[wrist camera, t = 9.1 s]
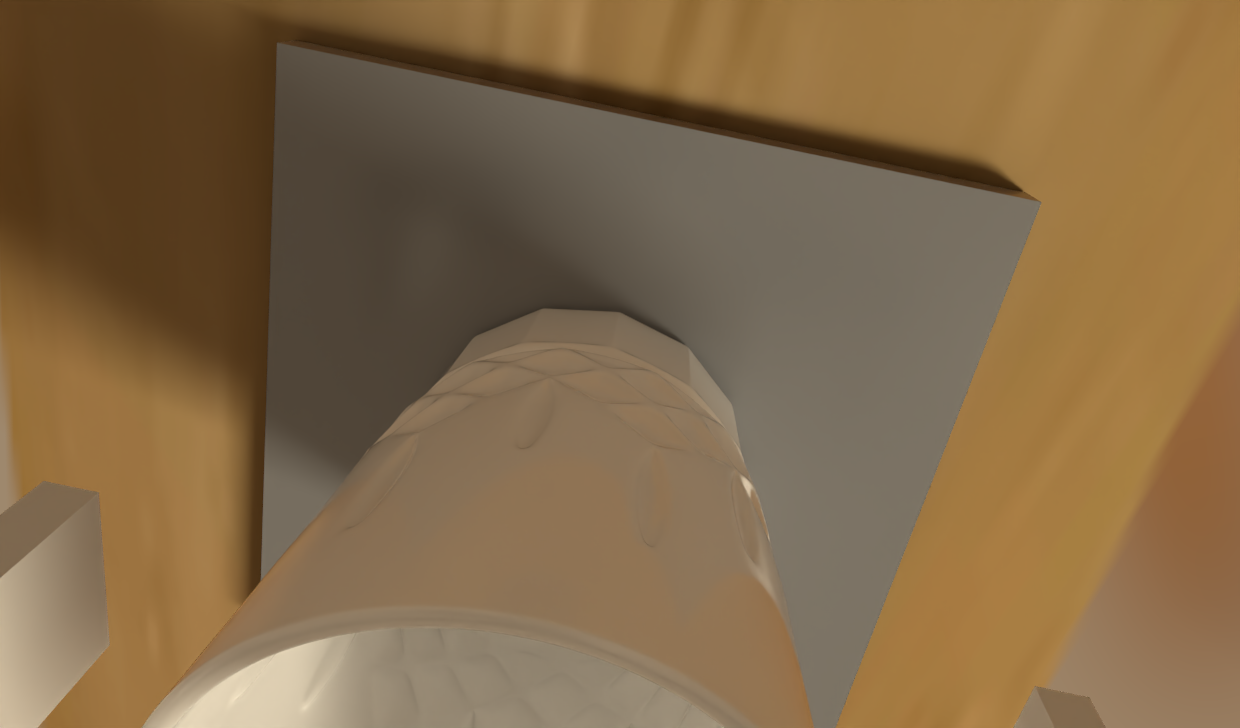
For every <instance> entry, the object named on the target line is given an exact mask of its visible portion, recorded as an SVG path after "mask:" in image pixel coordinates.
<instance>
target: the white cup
mask: <svg viewBox="0 0 1240 728" xmlns="http://www.w3.org/2000/svg"><path fill="white" fill-rule="evenodd" d="M142 728H814V725H813V721H812V716H811V712H810V707H809V703H808V698H807V694H806V689H805V685H804V680H803V675H802V671H801V666H800V662H799V657H798V653H797V648H796V644H795V639H794V634H793V630H792V625H791V620H790V615H789V610H788V605H787V601H786V597H785V593H784V589H783V586H782V582H781V579H780V575H779V572H778V569H777V566H776V562H775V559H774V554H773V550H772V546H771V541H770V537H769V534H768V530H767V526H766V522H765V519H764V515H763V512H762V509H761V504H760V499H759V495H758V493H757V491H756V489H755V486H754V484H753V482H752V480H751V477H750V475H749V473H748V471H747V468H746V466H745V463H744V460H743V456H742V453H741V448H740V443H739V437H738V432H737V426H736V421H735V415H734V410H733V406H732V404H731V402H730V401H729V399H728V398H727V397H726V396H725V394H724V393H723V392H722V390H721V389H720V388H719V386H718V385H717V384H716V383H715V381H714V380H713V379H712V377H711V376H710V375H709V373H708V372H707V371H706V370H705V368H704V367H703V366H702V364H701V363H700V362H699V360H698V359H697V358H696V357H695V355H694V354H693V353H692V351H691V350H690V349H689V348H688V347H687V346H686V345H684V344H682V343H680V342H678V341H676V340H674V339H672V338H670V337H668V336H666V335H664V334H662V333H660V332H658V331H656V330H654V329H652V328H650V327H648V326H646V325H644V324H642V323H640V322H638V321H637V320H635V319H633V318H631V317H629V316H627V315H625V314H623V313H621V312H612V311H591V310H571V309H550V308H542V309H539V310H537V311H535V312H532V313H530V314H527V315H525V316H522V317H520V318H518V319H515V320H513V321H510V322H508V323H505V324H503V325H501V326H498V327H496V328H493V329H491V330H488V331H486V332H484V333H481V334H479V335H476V336H475V337H474V338H473V339H472V340H471V341H470V342H469V343H468V345H467V346H466V347H465V348H464V349H463V351H462V352H461V353H460V354H459V355H458V357H457V358H456V359H455V360H454V361H453V362H452V364H451V365H450V366H449V367H448V368H447V370H446V371H445V372H444V373H443V374H442V376H441V377H440V378H439V379H438V380H437V382H436V383H435V384H434V385H433V386H432V388H431V389H430V390H429V391H428V392H427V393H426V394H425V395H423V396H422V397H421V398H419V399H418V400H416V401H415V402H413V403H412V404H410V405H409V406H408V407H407V408H405V410H404V411H403V412H402V413H401V414H400V415H399V417H398V418H397V419H396V420H395V422H394V423H393V424H392V425H391V427H390V428H389V429H388V430H387V431H386V432H385V433H384V434H383V435H382V436H381V437H380V438H379V439H378V440H377V441H376V442H375V443H374V444H373V445H372V446H371V447H370V448H369V449H368V450H367V452H366V453H365V454H364V456H363V457H362V458H361V460H360V461H359V462H358V463H357V465H356V466H355V467H354V468H353V469H352V471H351V472H350V473H349V474H348V476H347V477H346V478H345V480H344V481H343V482H342V483H341V484H340V486H339V487H338V488H337V489H336V491H335V492H334V493H333V494H332V496H331V497H330V498H329V499H328V500H327V502H326V503H325V504H324V505H323V507H322V508H321V509H320V510H319V511H318V513H317V514H316V515H315V516H314V517H313V518H312V520H311V521H310V522H309V523H308V524H307V525H306V527H305V528H304V529H303V530H302V531H301V532H300V533H299V535H298V536H297V537H296V538H295V540H294V541H293V542H292V543H291V544H290V546H289V547H288V548H287V549H286V551H285V552H284V553H283V554H282V556H281V557H280V558H279V559H278V560H277V562H276V563H275V564H274V565H273V567H272V568H271V569H270V570H269V571H268V573H267V574H266V575H265V576H264V578H263V579H262V580H261V581H260V583H259V584H258V585H257V586H256V587H255V589H254V590H253V591H252V592H251V593H250V595H249V596H248V597H247V598H246V600H245V601H244V602H243V603H242V604H241V606H240V607H239V608H238V609H237V611H236V612H235V613H234V614H233V615H232V617H231V618H230V619H229V620H228V621H227V623H226V624H225V625H224V626H223V627H222V629H221V630H220V631H219V632H218V634H217V635H216V636H215V637H214V638H213V640H212V641H211V642H210V643H209V644H208V646H207V647H206V648H205V649H204V650H203V652H202V653H201V654H200V655H199V656H198V658H197V659H196V660H195V661H194V663H193V664H192V665H191V666H190V667H189V669H188V670H187V671H186V672H185V673H184V675H183V676H182V677H181V678H180V679H179V681H178V682H177V683H176V684H175V685H174V687H173V688H172V689H171V690H170V691H169V693H168V694H167V695H166V696H165V697H164V699H163V700H162V701H161V702H160V703H159V705H158V706H157V707H156V708H155V710H154V711H153V712H152V714H151V715H150V716H149V718H148V719H147V721H146V722H145V724H144V725H143V727H142Z"/></svg>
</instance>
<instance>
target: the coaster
mask: <svg viewBox="0 0 1240 728" xmlns="http://www.w3.org/2000/svg"><path fill="white" fill-rule="evenodd" d="M1040 205H1041V202H1040V201H1039V200H1037V199H1036V198H1034V197H1032V196H1031V195H1029V194H1027V193H1026V192H1021V191H1016V190H1011V189H1006V188H1002V187H997V186H992V185H987V184H982V183H978V182H973V181H968V180H963V179H958V178H954V177H949V176H944V175H939V174H934V173H930V172H925V171H920V170H915V169H911V168H906V167H901V166H896V165H891V164H887V163H882V162H877V161H872V160H867V159H863V158H858V157H853V156H848V155H843V154H839V153H834V152H829V151H824V150H820V149H815V148H810V147H805V146H800V145H796V144H791V143H786V142H781V141H776V140H772V139H767V138H762V137H757V136H752V135H748V134H743V133H738V132H733V131H729V130H724V129H719V128H714V127H709V126H705V125H700V124H695V123H690V122H685V121H681V120H676V119H671V118H666V117H661V116H657V115H652V114H647V113H642V112H637V111H633V110H628V109H623V108H618V107H614V106H609V105H604V104H599V103H594V102H590V101H585V100H580V99H575V98H570V97H566V96H561V95H556V94H551V93H546V92H542V91H537V90H532V89H527V88H523V87H518V86H513V85H508V84H503V83H499V82H494V81H489V80H484V79H479V78H475V77H470V76H465V75H460V74H455V73H451V72H446V71H441V70H436V69H432V68H427V67H422V66H417V65H412V64H408V63H403V62H398V61H393V60H388V59H384V58H379V57H374V56H369V55H364V54H360V53H355V52H350V51H345V50H340V49H336V48H331V47H326V46H321V45H317V44H312V43H307V42H302V41H297V40H293V41H285V42H278V43H277V59H276V92H275V126H274V159H273V192H272V225H271V258H270V292H269V325H268V358H267V391H266V424H265V458H264V491H263V524H262V557H261V580H262V579H263V578H264V576H265V575H266V574H267V573H268V571H269V570H270V569H271V568H272V567H273V565H274V564H275V563H276V562H277V560H278V559H279V558H280V557H281V556H282V554H283V553H284V552H285V551H286V549H287V548H288V547H289V546H290V544H291V543H292V542H293V541H294V540H295V538H296V537H297V536H298V535H299V533H300V532H301V531H302V530H303V529H304V528H305V527H306V525H307V524H308V523H309V522H310V521H311V520H312V518H313V517H314V516H315V515H316V514H317V513H318V511H319V510H320V509H321V508H322V507H323V505H324V504H325V503H326V502H327V500H328V499H329V498H330V497H331V496H332V494H333V493H334V492H335V491H336V489H337V488H338V487H339V486H340V484H341V483H342V482H343V481H344V480H345V478H346V477H347V476H348V474H349V473H350V472H351V471H352V469H353V468H354V467H355V466H356V465H357V463H358V462H359V461H360V460H361V458H362V457H363V456H364V454H365V453H366V452H367V450H368V449H369V448H370V447H371V446H372V445H373V444H374V443H375V442H376V441H377V440H378V439H379V438H380V437H381V436H382V435H383V434H384V433H385V432H386V431H387V430H388V429H389V428H390V427H391V425H392V424H393V423H394V422H395V420H396V419H397V418H398V417H399V415H400V414H401V413H402V412H403V411H404V410H405V408H407V407H408V406H409V405H410V404H412V403H413V402H415V401H416V400H418V399H419V398H421V397H422V396H423V395H425V394H426V393H427V392H428V391H429V390H430V389H431V388H432V386H433V385H434V384H435V383H436V382H437V380H438V379H439V378H440V377H441V376H442V374H443V373H444V372H445V371H446V370H447V368H448V367H449V366H450V365H451V364H452V362H453V361H454V360H455V359H456V358H457V357H458V355H459V354H460V353H461V352H462V351H463V349H464V348H465V347H466V346H467V345H468V343H469V342H470V341H471V340H472V339H473V338H474V337H475V336H476V335H479V334H481V333H484V332H486V331H488V330H491V329H493V328H496V327H498V326H501V325H503V324H505V323H508V322H510V321H513V320H515V319H518V318H520V317H522V316H525V315H527V314H530V313H532V312H535V311H537V310H539V309H542V308H550V309H571V310H591V311H612V312H621V313H623V314H625V315H627V316H629V317H631V318H633V319H635V320H637V321H638V322H640V323H642V324H644V325H646V326H648V327H650V328H652V329H654V330H656V331H658V332H660V333H662V334H664V335H666V336H668V337H670V338H672V339H674V340H676V341H678V342H680V343H682V344H684V345H686V346H687V347H688V348H689V349H690V350H691V351H692V353H693V354H694V355H695V357H696V358H697V359H698V360H699V362H700V363H701V364H702V366H703V367H704V368H705V370H706V371H707V372H708V373H709V375H710V376H711V377H712V379H713V380H714V381H715V383H716V384H717V385H718V386H719V388H720V389H721V390H722V392H723V393H724V394H725V396H726V397H727V398H728V399H729V401H730V402H731V404H732V406H733V410H734V415H735V421H736V426H737V432H738V437H739V443H740V448H741V453H742V456H743V460H744V463H745V466H746V468H747V471H748V473H749V475H750V477H751V480H752V482H753V484H754V486H755V489H756V491H757V493H758V495H759V499H760V504H761V509H762V512H763V515H764V519H765V522H766V526H767V530H768V534H769V537H770V541H771V546H772V550H773V554H774V559H775V562H776V566H777V569H778V572H779V575H780V579H781V582H782V586H783V589H784V593H785V597H786V601H787V605H788V610H789V615H790V620H791V625H792V630H793V634H794V639H795V644H796V648H797V653H798V657H799V662H800V666H801V671H802V675H803V680H804V685H805V689H806V694H807V698H808V703H809V707H810V712H811V716H812V721H813V725H814V728H835V727H836V725H837V722H838V720H839V717H840V714H841V712H842V709H843V707H844V704H845V702H846V699H847V697H848V694H849V692H850V689H851V686H852V684H853V681H854V679H855V676H856V674H857V671H858V669H859V666H860V663H861V661H862V658H863V656H864V653H865V651H866V648H867V646H868V643H869V641H870V638H871V635H872V633H873V630H874V628H875V625H876V623H877V620H878V618H879V615H880V612H881V610H882V607H883V605H884V602H885V600H886V597H887V595H888V592H889V590H890V587H891V584H892V582H893V579H894V577H895V574H896V572H897V569H898V567H899V564H900V561H901V559H902V556H903V554H904V551H905V549H906V546H907V544H908V541H909V539H910V536H911V533H912V531H913V528H914V526H915V523H916V521H917V518H918V516H919V513H920V511H921V508H922V505H923V503H924V500H925V498H926V495H927V493H928V490H929V488H930V485H931V482H932V480H933V477H934V475H935V472H936V470H937V467H938V465H939V462H940V460H941V457H942V454H943V452H944V449H945V447H946V444H947V442H948V439H949V437H950V434H951V431H952V429H953V426H954V424H955V421H956V419H957V416H958V414H959V411H960V409H961V406H962V403H963V401H964V398H965V396H966V393H967V391H968V388H969V386H970V383H971V380H972V378H973V375H974V373H975V370H976V368H977V365H978V363H979V360H980V358H981V355H982V352H983V350H984V347H985V345H986V342H987V340H988V337H989V335H990V332H991V330H992V327H993V324H994V322H995V319H996V317H997V314H998V312H999V309H1000V307H1001V304H1002V301H1003V299H1004V296H1005V294H1006V291H1007V289H1008V286H1009V284H1010V281H1011V279H1012V276H1013V273H1014V271H1015V268H1016V266H1017V263H1018V261H1019V258H1020V256H1021V253H1022V250H1023V248H1024V245H1025V243H1026V240H1027V238H1028V235H1029V233H1030V230H1031V228H1032V225H1033V222H1034V220H1035V217H1036V215H1037V212H1038V210H1039V207H1040Z"/></svg>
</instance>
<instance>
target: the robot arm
mask: <svg viewBox="0 0 1240 728" xmlns="http://www.w3.org/2000/svg"><path fill="white" fill-rule="evenodd" d="M109 645H110V643H109V629H108V616H107V602H106V588H105V574H104V560H103V546H102V532H101V519H100V505H99V492H94V491H89V490H84V489H79V488H75V487H70V486H65V485H60V484H55V483H50V482H46V481H43V482H42V483H41V484H39V485H38V486H37V487H35V488H34V489H33V490H32V491H30V492H29V493H28V494H27V495H25V496H24V497H23V498H21V499H20V500H19V501H18V502H16V503H15V504H14V505H12V506H11V507H10V508H9V509H7V510H6V511H5V512H3V513H2V514H1V515H0V728H38V726H39V725H40V724H41V723H42V722H43V721H44V720H45V718H46V717H47V716H48V715H49V714H50V713H51V711H52V710H53V709H54V708H55V707H56V706H57V705H58V703H59V702H60V701H61V700H62V699H63V698H64V697H65V695H66V694H67V693H68V692H69V691H70V690H71V689H72V687H73V686H74V685H75V684H76V683H77V682H78V681H79V679H80V678H81V677H82V676H83V675H84V674H85V673H86V671H87V670H88V669H89V668H90V667H91V666H92V665H93V663H94V662H95V661H96V660H97V659H98V658H99V657H100V655H101V654H102V653H103V652H104V651H105V650H106V648H107V647H108V646H109ZM1014 728H1105V725H1104V724H1103V722H1102V720H1101V718H1100V716H1099V714H1098V712H1097V711H1096V709H1095V707H1094V705H1093V703H1092V701H1091V699H1090V698H1089V697H1085V696H1080V695H1074V694H1070V693H1065V692H1061V691H1056V690H1051V689H1046V688H1041V687H1036V686H1035V687H1034V689H1033V691H1032V693H1031V695H1030V697H1029V699H1028V701H1027V703H1026V705H1025V706H1024V708H1023V710H1022V712H1021V714H1020V716H1019V718H1018V720H1017V722H1016V724H1015V726H1014Z"/></svg>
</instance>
